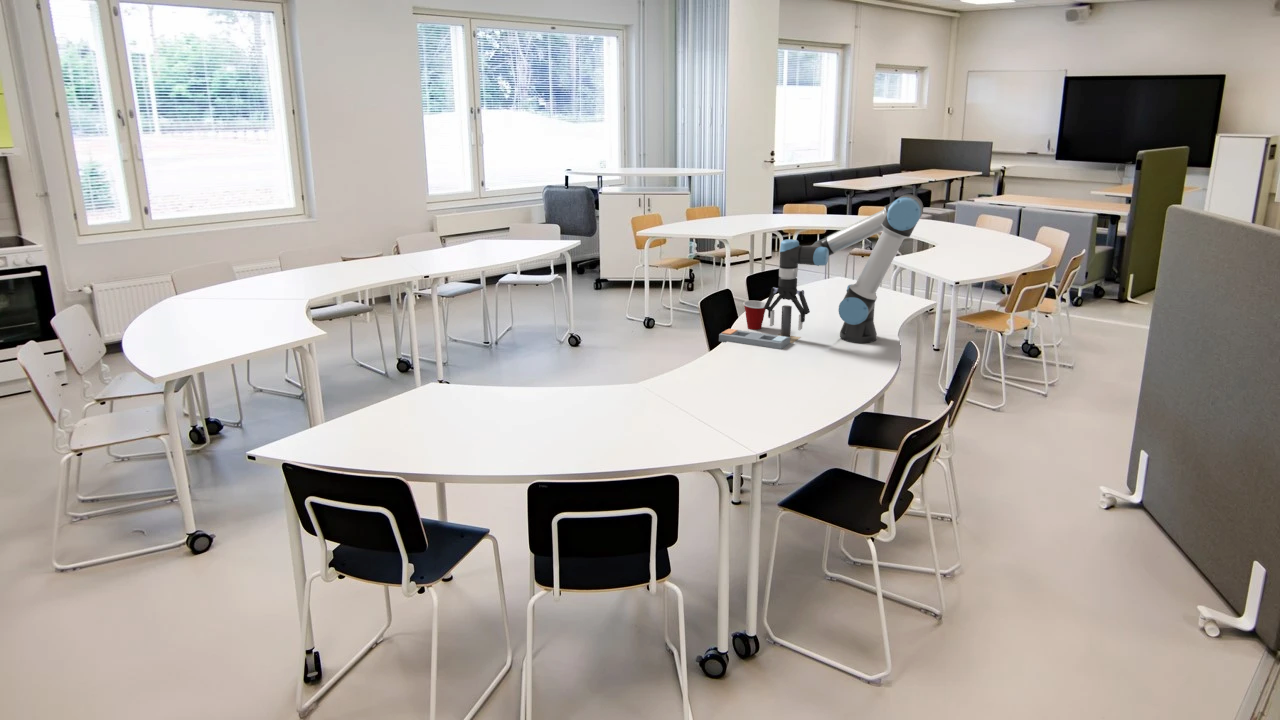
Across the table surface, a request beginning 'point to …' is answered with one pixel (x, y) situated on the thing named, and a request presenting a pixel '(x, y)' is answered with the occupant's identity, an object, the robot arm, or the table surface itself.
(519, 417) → the table surface
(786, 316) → the plug
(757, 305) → the plastic cup
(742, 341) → the socket block
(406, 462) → the table surface
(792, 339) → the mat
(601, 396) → the table surface
